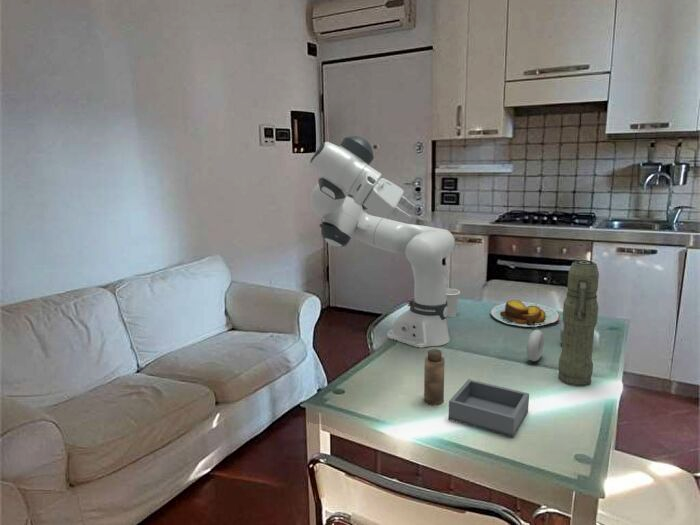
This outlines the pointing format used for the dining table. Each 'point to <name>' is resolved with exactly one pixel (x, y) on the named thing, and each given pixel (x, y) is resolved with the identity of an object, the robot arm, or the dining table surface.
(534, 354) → the donut
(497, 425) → the bin
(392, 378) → the dining table surface
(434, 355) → the pepper mill
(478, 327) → the dining table surface
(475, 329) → the dining table surface
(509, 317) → the food on plate
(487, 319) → the dining table surface
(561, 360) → the thermos
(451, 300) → the dixie cup
